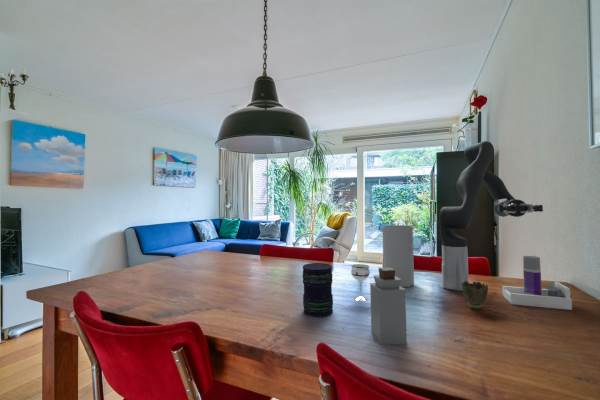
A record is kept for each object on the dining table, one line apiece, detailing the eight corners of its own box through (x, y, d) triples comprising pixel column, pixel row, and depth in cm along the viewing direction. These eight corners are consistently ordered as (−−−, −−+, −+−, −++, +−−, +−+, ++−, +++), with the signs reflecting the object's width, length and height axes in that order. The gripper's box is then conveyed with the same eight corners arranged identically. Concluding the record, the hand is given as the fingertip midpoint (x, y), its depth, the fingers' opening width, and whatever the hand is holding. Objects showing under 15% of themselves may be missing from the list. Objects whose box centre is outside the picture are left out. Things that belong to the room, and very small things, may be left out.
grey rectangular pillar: (416, 281, 124) (415, 225, 125) (410, 289, 114) (409, 227, 114) (388, 278, 131) (386, 224, 131) (380, 285, 120) (378, 227, 121)
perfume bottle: (371, 332, 76) (369, 266, 77) (395, 331, 77) (393, 265, 77) (380, 345, 70) (378, 272, 70) (406, 343, 70) (404, 271, 71)
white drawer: (511, 304, 95) (510, 284, 96) (502, 295, 105) (502, 277, 105) (572, 309, 89) (571, 289, 90) (557, 299, 99) (556, 281, 99)
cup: (485, 305, 95) (484, 281, 95) (492, 313, 88) (491, 287, 88) (460, 303, 97) (459, 280, 97) (465, 310, 90) (464, 286, 90)
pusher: (557, 304, 92) (557, 289, 92) (548, 297, 99) (547, 283, 99) (561, 305, 92) (561, 289, 92) (551, 298, 98) (551, 283, 98)
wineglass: (373, 298, 104) (372, 265, 104) (364, 303, 99) (363, 269, 99) (357, 294, 109) (357, 263, 109) (348, 299, 104) (347, 266, 104)
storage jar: (312, 320, 86) (311, 270, 86) (297, 309, 94) (297, 265, 95) (339, 313, 90) (338, 267, 90) (323, 304, 99) (322, 261, 99)
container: (545, 302, 95) (543, 258, 95) (529, 302, 96) (527, 258, 96) (536, 298, 99) (534, 255, 100) (521, 297, 100) (519, 255, 100)
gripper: (494, 199, 128) (501, 199, 113) (534, 199, 121) (546, 198, 107) (495, 216, 128) (501, 218, 113) (535, 216, 121) (547, 218, 107)
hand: (523, 208), depth 110 cm, fingers open, 8 cm apart
